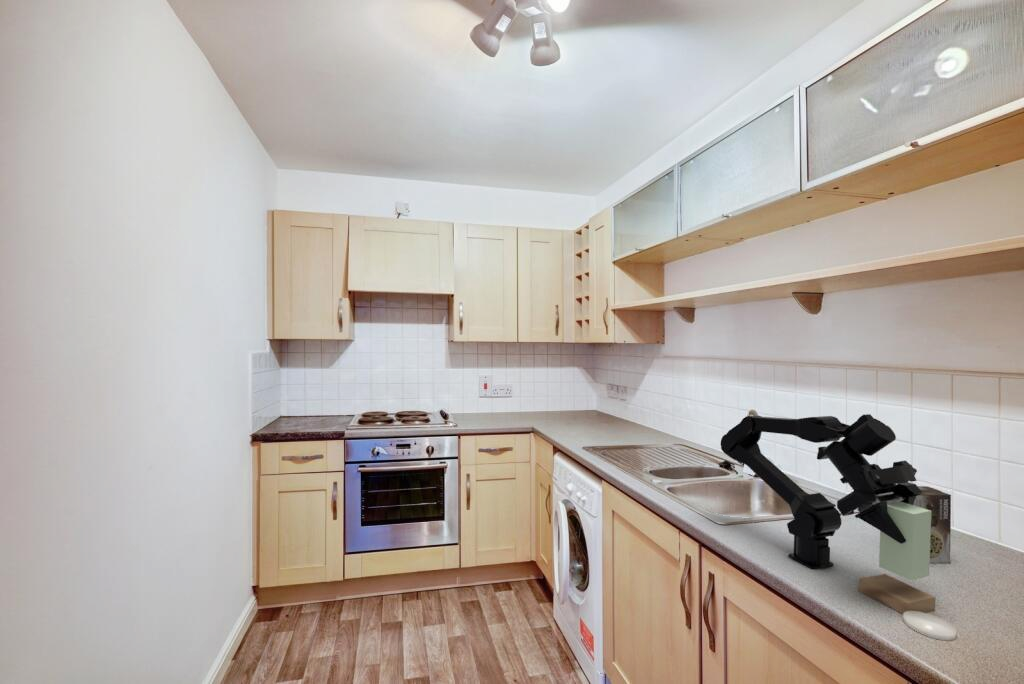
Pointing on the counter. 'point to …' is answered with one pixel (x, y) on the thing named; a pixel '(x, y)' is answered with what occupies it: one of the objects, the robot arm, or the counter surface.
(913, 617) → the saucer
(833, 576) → the counter surface
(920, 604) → the podium
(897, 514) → the carton
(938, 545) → the coffee box
